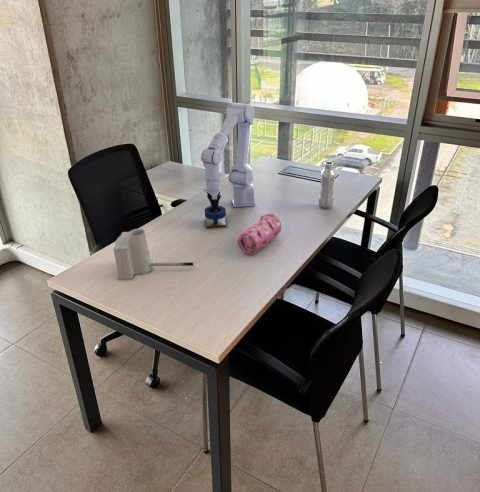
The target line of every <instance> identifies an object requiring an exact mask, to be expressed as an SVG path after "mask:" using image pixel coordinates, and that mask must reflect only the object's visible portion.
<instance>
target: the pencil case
mask: <svg viewBox="0 0 480 492" xmlns="http://www.w3.org/2000/svg"><path fill="white" fill-rule="evenodd" d="M281 231H282V223H281V220H280V218H279V217H278V215H275V214H274V213H265V214H263V215H260V217H259V220H258V221H257V222H255V223H254V224H253V225H251V226H250V227H249V228H246V229H245V230H244V231H242V232H241V233H239V236H238V238H237V246H238V248H239V249H240V250H241V251H242V252H243V253H244V254H247V255H251V256H252V255H256V254H257V253H258V252H259V251H260V250H262V249H263V248H265V247H266V246H267V245H268V244H270V243H271V242H272V241H273V240H275V238H276V237H277V235H278V234H279V233H281Z"/></svg>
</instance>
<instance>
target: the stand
mask: <svg viewBox="0 0 480 492" xmlns="http://www.w3.org/2000/svg"><path fill="white" fill-rule="evenodd" d="M213 212H214V213H215V212H218V211H217V210H213ZM225 217H226V216H225ZM225 217H224V218H222V219H218V220H211V219H207V218H206V217H205V222H206V229H218V228H219V229H220V228H226V227H227V223H226V218H225Z"/></svg>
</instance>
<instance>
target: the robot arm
mask: <svg viewBox="0 0 480 492" xmlns="http://www.w3.org/2000/svg"><path fill="white" fill-rule="evenodd" d="M225 111H226V113H225V114H226V117H225V119H224V121H223V123H222V127H221V128H220V130H219V132H216V133H214V135H213V137H212V139H211V141H210V143H209V144H208V146H207V147H206V148H204V149H203V150H202V152H201V156H200V161H201V162H202V166H203V167H204V172H205V174H204V175H205V185H206V187H203V192H206V197H207V199H208V201H209V203H210V206H211V207H212V210H218V206H219V203H220V200H221V198H222V196H221V190H222V187H221V178H220V163H221V162H222V158H223V157H222V156H223V153H224V152H223V151H224V149H225V148H226V145H227V143H228V142H229V139H228V136H229V134H230V133H231V132H232V130H233V129H234V127H235V126H236V124H237V126H238V133H237V143H236V156H235V163H234V164H233V165H231V166H230V170H229V173H228V182H229V183H230V184H231V186H232V195H233V197H232V198H233V199H231V201H232V207H233V208H244V207H245V208H246V207H254V206H255V189H254V188H255V187H254V184H252V183H253V180H254V176H253V169H252V167H251V166H250V165H249V164H248V163H249V162H248V161H249V152H250V143H251V133H252V125H254V118H255V117H254V115H255V109H254V107H253V105H252V104H251V103H248V104H247V103H239V102H233V101H232V102H230V103H229V104H228V105H227V108H226V109H225Z"/></svg>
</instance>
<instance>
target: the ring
mask: <svg viewBox="0 0 480 492" xmlns="http://www.w3.org/2000/svg"><path fill="white" fill-rule="evenodd" d="M217 211H218V212H215V213H214V212H213V210H212V207H211V205H210V206H207V207H205V208H204V217H205V219H206V218H207V219H211V220H218V219H222V218H224V217H226V216H227V210H226V207H224V206H222V205H218V210H217Z"/></svg>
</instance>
